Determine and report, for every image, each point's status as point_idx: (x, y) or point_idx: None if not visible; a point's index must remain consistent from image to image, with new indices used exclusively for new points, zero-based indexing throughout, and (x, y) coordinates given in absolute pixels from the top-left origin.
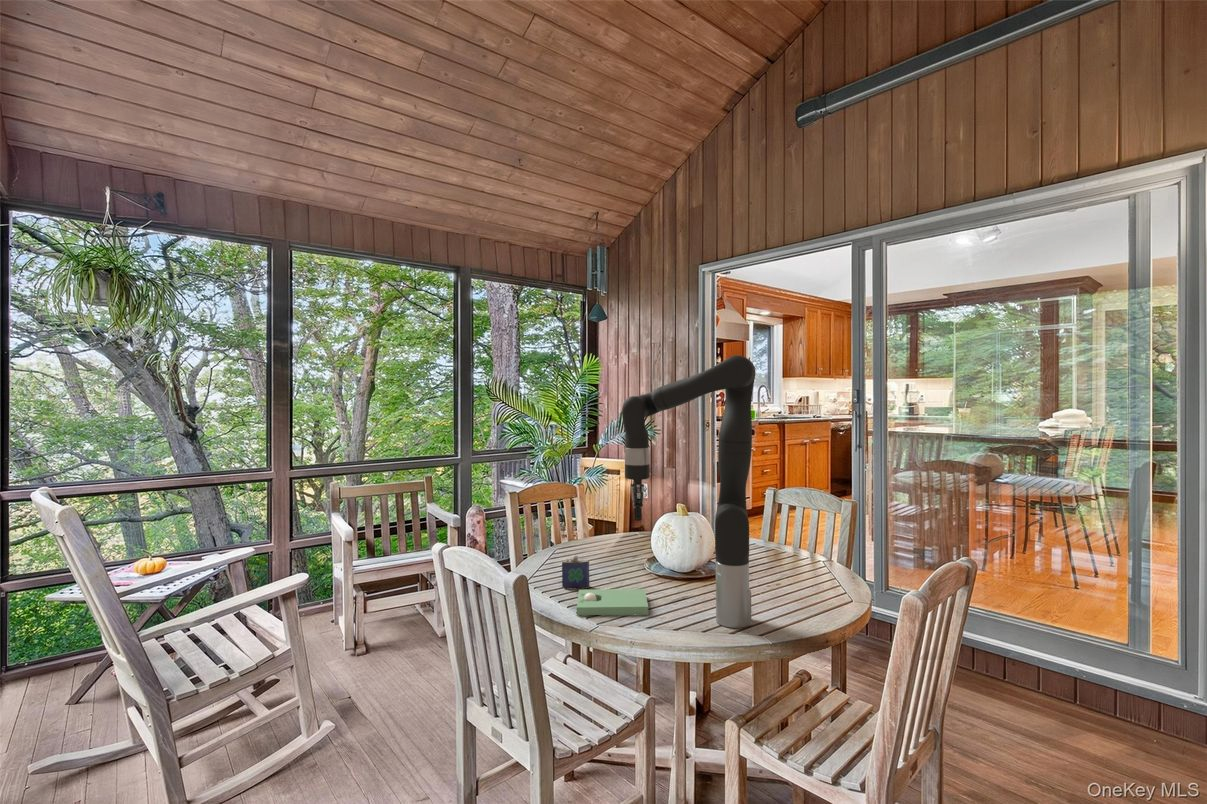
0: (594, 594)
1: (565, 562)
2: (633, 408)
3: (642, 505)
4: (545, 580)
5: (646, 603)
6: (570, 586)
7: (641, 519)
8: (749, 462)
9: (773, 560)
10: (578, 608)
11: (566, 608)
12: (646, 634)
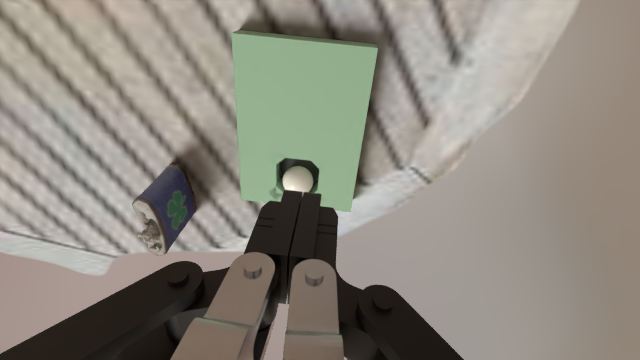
0: (295, 178)
1: (165, 250)
2: None
3: (390, 300)
4: None
5: (352, 48)
6: (191, 204)
7: (320, 194)
8: None
9: None
10: (350, 207)
11: None
12: (493, 70)
